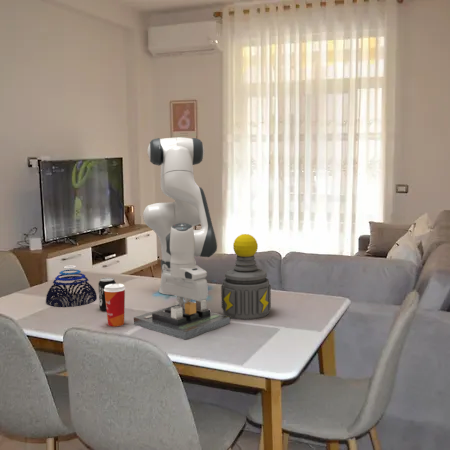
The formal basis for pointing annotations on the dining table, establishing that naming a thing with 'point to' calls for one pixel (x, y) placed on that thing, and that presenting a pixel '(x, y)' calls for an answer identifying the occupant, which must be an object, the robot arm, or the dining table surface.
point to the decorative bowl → (62, 293)
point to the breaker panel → (182, 331)
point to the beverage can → (102, 284)
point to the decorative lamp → (245, 284)
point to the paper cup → (115, 304)
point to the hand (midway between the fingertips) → (184, 309)
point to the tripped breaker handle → (190, 308)
